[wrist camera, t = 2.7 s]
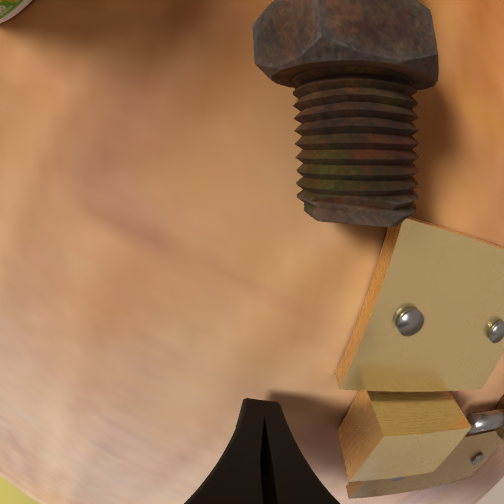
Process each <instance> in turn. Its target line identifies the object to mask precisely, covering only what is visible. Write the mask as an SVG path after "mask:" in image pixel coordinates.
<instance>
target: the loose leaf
mask: <svg viewBox="0 0 504 504" xmlns="http://www.w3.org/2000/svg"><path fill="white" fill-rule="evenodd" d="M503 352H504V247H502V246H499V245H496V244H493V243H491V242H488V241H485V240H482V239H479V238H476V237H473V236H470V235H467V234H464V233H461V232H458V231H455V230H452V229H449V228H445V227H442V226H439V225H436V224H432V223H429V222H426V221H422V220H419V219H416V218H412V217H408V218H406V219H405V220H404V221H403V222H402V223H400V224H399V225H396V226H392V227H388V229H387V232H386V236H385V239H384V243H383V246H382V249H381V253H380V256H379V259H378V262H377V265H376V269H375V272H374V275H373V278H372V281H371V284H370V287H369V289H368V292H367V295H366V298H365V301H364V304H363V306H362V309H361V312H360V315H359V317H358V320H357V323H356V325H355V328H354V330H353V333H352V335H351V338H350V341H349V343H348V345H347V348H346V350H345V353H344V355H343V358H342V360H341V362H340V365H339V367H338V369H337V372H336V374H335V375H336V378H337V382H338V385H339V389H346V390H359V392H358V394H357V396H356V398H355V399H354V401H353V403H352V405H351V407H350V409H349V411H348V412H347V414H346V416H345V418H344V419H343V421H342V423H341V425H340V426H339V428H338V430H337V432H338V436H339V440H340V445H341V449H342V454H343V458H344V463H345V467H346V472H347V477H348V481H349V482H354V481H368V480H379V479H389V478H397V477H404V476H411V475H417V474H423V473H429V472H434V471H435V470H436V468H437V467H438V466H439V465H440V464H441V463H442V462H443V461H444V460H445V459H446V458H447V456H448V455H449V454H450V453H451V452H452V451H453V450H454V448H455V447H456V446H457V445H458V444H459V442H460V441H461V440H462V439H463V437H464V436H465V435H466V434H467V432H468V431H469V430H470V429H471V425H470V424H469V422H468V420H467V419H466V417H465V416H464V414H463V412H462V411H461V409H460V408H459V406H458V404H457V403H456V401H455V400H454V398H453V397H452V395H451V393H450V392H449V391H460V390H476V389H482V388H483V386H484V384H485V383H486V381H487V380H488V378H489V376H490V375H491V373H492V371H493V369H494V368H495V366H496V364H497V362H498V361H499V359H500V357H501V355H502V353H503Z"/></svg>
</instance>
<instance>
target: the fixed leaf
mask: <svg viewBox="0 0 504 504" xmlns="http://www.w3.org/2000/svg"><path fill="white" fill-rule="evenodd" d="M466 419H467V420H468V422H469V424H470V425H471V429H470V430H469V431H468V432H467V434H466V435H465V436H464V437H463V439H462V440H461V441H460V442H459V444H458V445H457V446H456V447H455V448H454V450H453V451H452V452H451V453H450V454H449V455H448V456H447V458H446V459H445V460H444V461H443V462H442V463H441V464H440V465H439V466H438V467H437V468H436V470H435V471H434V472H429V473H423V474H417V475H411V476H404V477H397V478H389V479H379V480H368V481H354V482H350V483H349V484H348V485H347V486H346V488H347V493H348V498H349V499H352V498H364V497H374V496H382V495H390V494H396V493H403V492H408V491H414V490H419V489H424V488H429V487H433V486H438V485H442V484H446V483H450V482H454V481H457V480H461V479H465V478H468V477H471V476H472V475H473V474H474V473H475V472H476V471H477V470H478V469H479V468H480V467H481V466H482V465H483V464H484V463H485V462H486V461H487V460H488V459H489V458H490V456H491V455H492V454H493V453H494V452H495V451H496V450H497V449H498V447H499V446H500V445H501V444H502V443H503V442H504V396H503V397H502V398H501V399H500V401H499V402H498V404H497V407H496V410H492V411H486V412H479V413H472V414H469V415H468V416H467V417H466Z"/></svg>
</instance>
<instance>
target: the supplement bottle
mask: <svg viewBox="0 0 504 504" xmlns="http://www.w3.org/2000/svg"><path fill="white" fill-rule="evenodd" d="M31 1H32V0H0V23H2V22H5V21H7V20H9V19H10V18H12V17H14V16H15V15H16V14H18V13H19V12H20V11H21V10H23V9H24V8H25V7H26V6H27V5H28V4H29V3H30V2H31Z"/></svg>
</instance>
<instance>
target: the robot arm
mask: <svg viewBox="0 0 504 504" xmlns="http://www.w3.org/2000/svg"><path fill="white" fill-rule="evenodd" d="M184 504H340V503H339V502H338V501H337V500H336V499H335V498H334V497H333V496H332V495H331V494H330V492H329V491H328V490H327V489H326V488H325V486H324V485H323V484H322V483H321V482H320V480H319V479H318V478H317V476H316V475H315V473H314V472H313V471H312V469H311V468H310V466H309V464H308V463H307V461H306V460H305V458H304V456H303V455H302V453H301V451H300V449H299V447H298V445H297V443H296V442H295V440H294V438H293V436H292V433H291V431H290V429H289V427H288V425H287V422H286V420H285V417H284V415H283V412H282V409H281V406H280V404H279V403H278V402H271V401H263V400H256V399H249V398H246V399H244V400H243V403H242V406H241V410H240V414H239V418H238V421H237V425H236V429H235V431H234V434H233V436H232V438H231V440H230V442H229V444H228V446H227V447H226V449H225V451H224V453H223V455H222V456H221V458H220V459H219V461H218V463H217V464H216V466H215V467H214V468H213V470H212V471H211V473H210V474H209V475H208V477H207V478H206V479H205V481H204V482H203V483H202V484H201V486H200V487H199V488H198V489H197V490H196V492H195V493H194V494H193V495H192V496H191V497H190V498H189V499H188V500H187V501H186V502H185V503H184Z"/></svg>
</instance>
